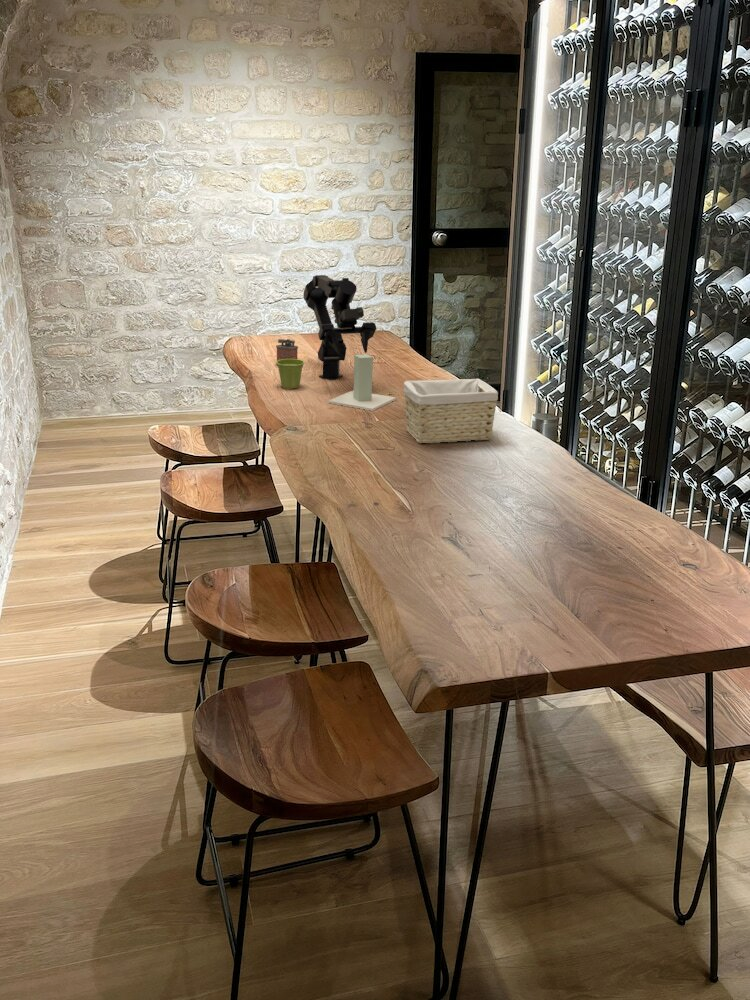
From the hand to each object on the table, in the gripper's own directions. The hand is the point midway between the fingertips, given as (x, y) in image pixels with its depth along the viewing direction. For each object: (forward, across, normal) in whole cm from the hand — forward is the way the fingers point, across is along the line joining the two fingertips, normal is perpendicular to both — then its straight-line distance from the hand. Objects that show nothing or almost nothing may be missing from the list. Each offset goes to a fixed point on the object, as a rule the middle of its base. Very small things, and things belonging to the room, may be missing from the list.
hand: (352, 352), depth 284 cm
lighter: (-20, -11, +40) cm, 46 cm away
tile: (+17, 0, +2) cm, 17 cm away
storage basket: (+46, +11, -26) cm, 54 cm away
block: (+16, 0, +2) cm, 17 cm away
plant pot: (+1, -18, +19) cm, 26 cm away
